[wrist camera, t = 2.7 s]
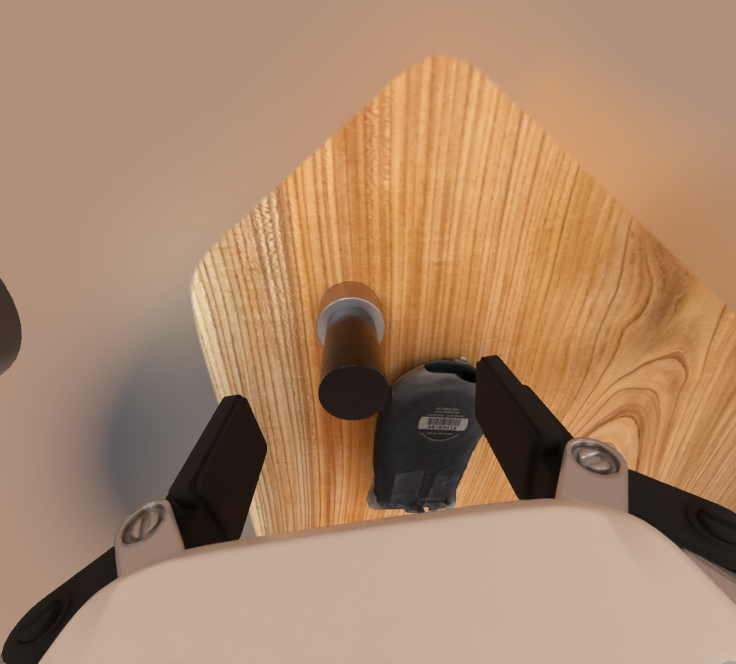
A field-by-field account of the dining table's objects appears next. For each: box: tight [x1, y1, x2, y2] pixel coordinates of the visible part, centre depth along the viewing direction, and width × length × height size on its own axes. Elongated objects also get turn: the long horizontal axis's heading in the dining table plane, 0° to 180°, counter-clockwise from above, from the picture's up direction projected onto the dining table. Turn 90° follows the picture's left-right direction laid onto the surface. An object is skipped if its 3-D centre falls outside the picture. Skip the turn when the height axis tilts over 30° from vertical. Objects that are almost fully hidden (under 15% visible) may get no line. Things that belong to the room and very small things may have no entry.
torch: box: [316, 282, 389, 420], centre depth 16 cm, size 4×4×9 cm
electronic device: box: [366, 356, 484, 513], centre depth 24 cm, size 9×6×15 cm
